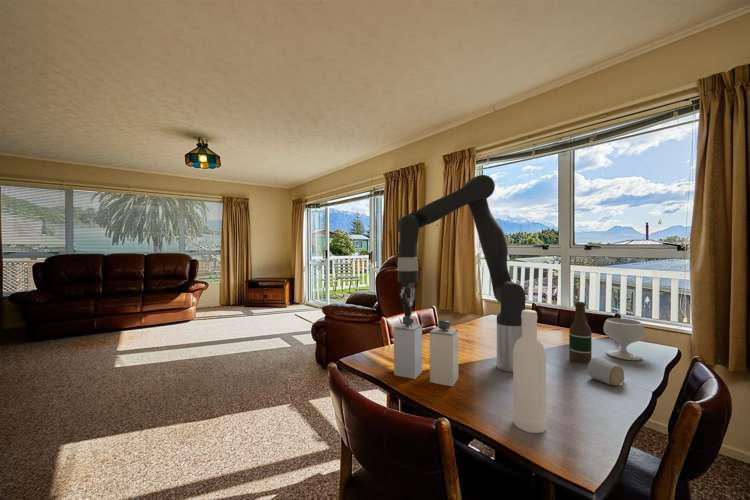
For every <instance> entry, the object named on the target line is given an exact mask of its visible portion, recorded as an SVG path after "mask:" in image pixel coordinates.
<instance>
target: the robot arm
mask: <svg viewBox="0 0 750 500" xmlns="http://www.w3.org/2000/svg"><path fill="white" fill-rule="evenodd" d="M495 188H496V183H495V181H494V179H493V178H492V177H491V176H490V175H486V174H480V175H476V176H474V177H473V178H471V179H469V180H467V182H465V184H464V186H463V187H461V188H459V189H458V190H456V191H453V192H452V193H449V194H447V195H444V196H442V197H440V198H437V199H436V200H434V201H431V202H429V203H427V204H425V205H424V206H422V207H420V208H419V209H417V210H415V211H412V212H411V213H408V214H406V215H403V216H402V217H400V218H399V219H398V220H397V223H396V229H397V231H398V233H400V234H399V235H400V236H399V238H400V240H399V243H398V246H397V247H398V249H397V251H398V252H397V282H398V283H400V284H401V289H400V292H398V297H399V301H400V304H401V306H403V307H404V316H407V317H410V316H412V306H413V304H414V303H415V300H416V297H417V292H418V290H417V289H416V288H415V284H416V283H418V282H419V260H418V240H419V234H420V229H421V228H423V227H424V226H428V225H431V224H434V223H435V222H437V221H439V220H440V219H443V218H445V217H446V216H448V215H450V214H451V213H453V212H455V211H457V210H458V209H461V208H462V207H464V206H466V205H468V208H469V209H470V212H471V215H472V218H473V220H474V224H475V229H476V232H477V236H478V239H479V243H480V247H481V249H482V253H483V256H484V260H485V263H486V265H487V268H488V271H489V276H490V281H491V286H492V292H493V293H492V294H493V296H494V299H495V300H496V301H497V302H498V303H500V312H499V313H498V314H497V315H496V368H497V369H499V370H500V371H504V372H507V373H513V349H514V345H515V343H516V341H517V340H518V339H519V338H521V337H522V318H521V315H522V311H523V310H526V291H525V289H524V287H523V286H522V285H521V284H520V283H517V282H513V280H512V278H511V275H510V272H509V269H508V256H509V255H508V251H509V248H508V244H507V243H508V242H507V240H506V237H505V233H504V230H503V228H502V226H501V225H500V223H499V222H498V220H497V219H496V218H495V216H494V214H493V213H492V211H491V209H490V206H489V202H488V199H489V198H490V197H491V196H492V195H493V194H494V192H495Z"/></svg>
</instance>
